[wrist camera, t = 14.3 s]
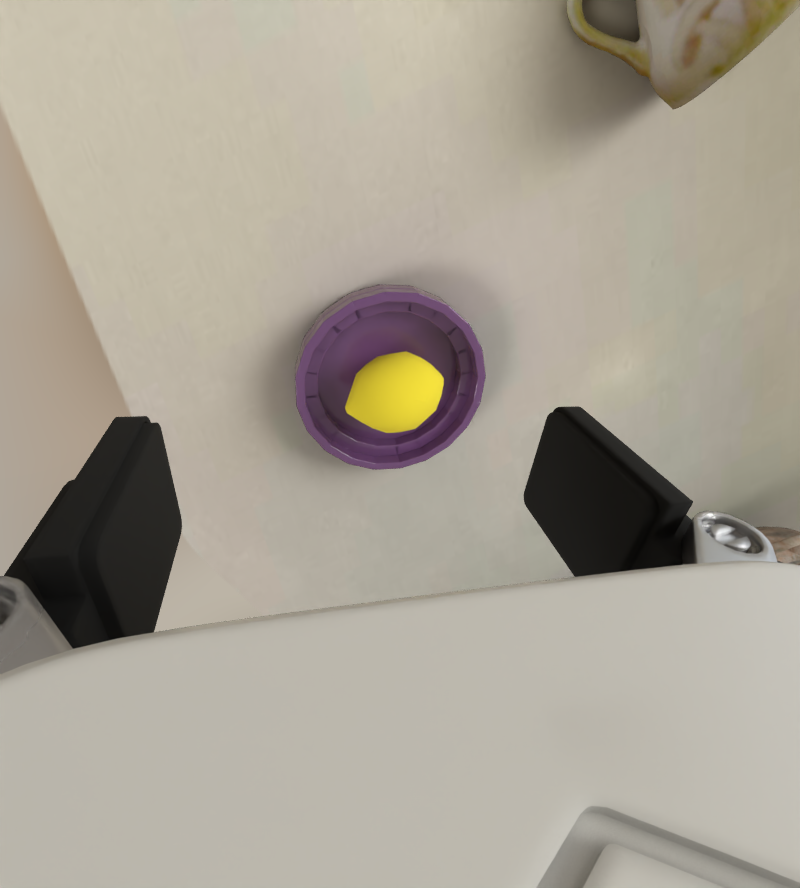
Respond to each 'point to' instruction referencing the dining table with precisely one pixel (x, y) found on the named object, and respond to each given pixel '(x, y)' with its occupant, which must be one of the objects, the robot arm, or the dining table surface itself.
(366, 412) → the lemon
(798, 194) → the dining table surface
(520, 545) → the dining table surface
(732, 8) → the mug
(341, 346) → the dish
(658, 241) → the dining table surface
